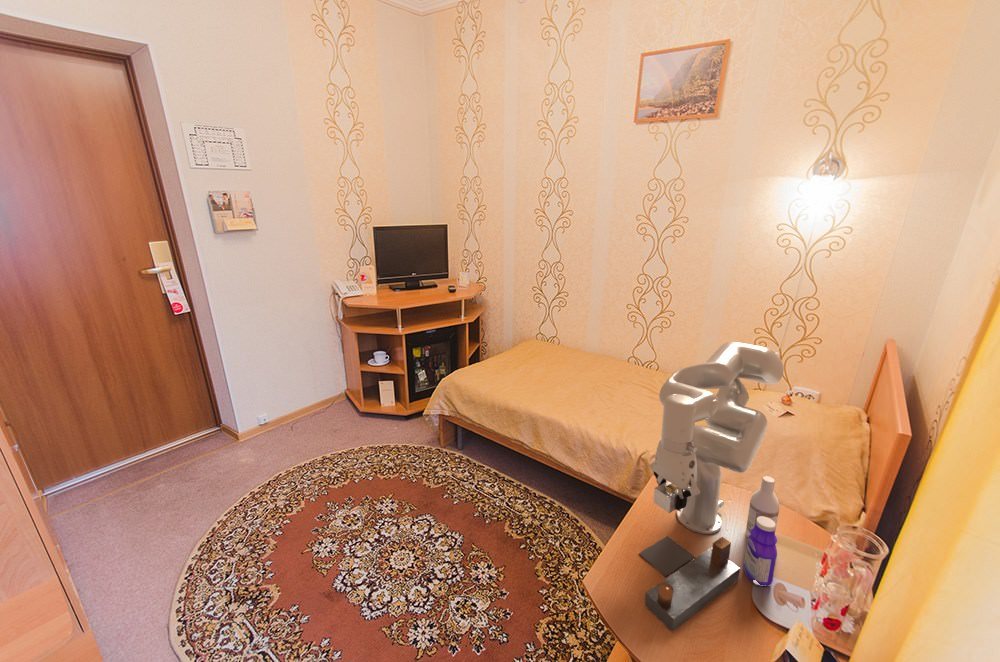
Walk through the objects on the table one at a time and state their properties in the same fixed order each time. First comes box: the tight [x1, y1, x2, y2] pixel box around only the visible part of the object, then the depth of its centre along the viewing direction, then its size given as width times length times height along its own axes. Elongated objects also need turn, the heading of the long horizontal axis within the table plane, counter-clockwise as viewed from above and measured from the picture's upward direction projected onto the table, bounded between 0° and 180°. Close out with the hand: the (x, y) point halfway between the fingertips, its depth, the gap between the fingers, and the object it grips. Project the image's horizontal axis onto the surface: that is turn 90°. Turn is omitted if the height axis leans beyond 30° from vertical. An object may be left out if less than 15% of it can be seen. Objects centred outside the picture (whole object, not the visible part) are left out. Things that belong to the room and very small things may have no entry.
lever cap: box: [653, 480, 690, 514], centre depth 109 cm, size 8×5×5 cm, turn 120°
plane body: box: [644, 536, 741, 633], centre depth 102 cm, size 26×8×10 cm, turn 120°
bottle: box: [743, 516, 778, 587], centre depth 104 cm, size 7×6×17 cm
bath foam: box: [745, 475, 780, 538], centre depth 117 cm, size 7×7×20 cm
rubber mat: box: [638, 535, 696, 578], centre depth 114 cm, size 12×9×1 cm
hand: (671, 501), depth 109 cm, fingers closed on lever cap, 5 cm apart
